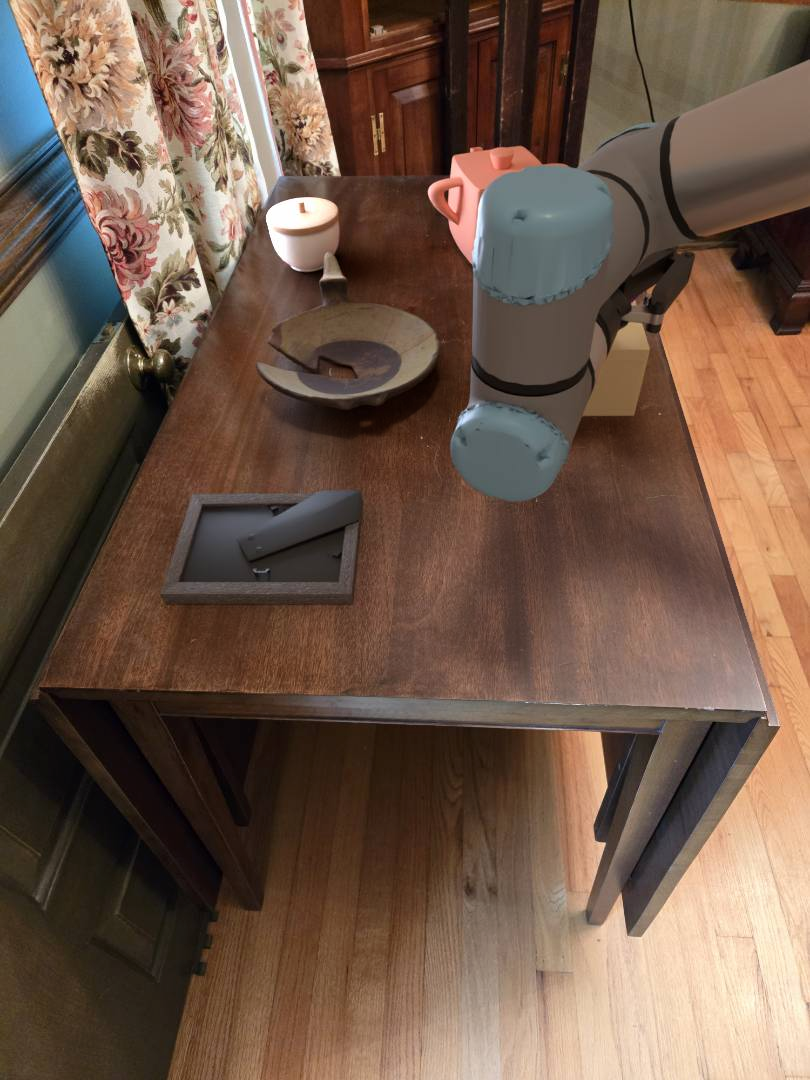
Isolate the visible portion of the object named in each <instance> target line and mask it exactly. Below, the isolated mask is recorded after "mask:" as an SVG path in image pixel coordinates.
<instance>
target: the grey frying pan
mask: <svg viewBox="0 0 810 1080" xmlns="http://www.w3.org/2000/svg"><path fill="white" fill-rule="evenodd" d="M348 286H349V282H348V278H347V277H345V275H344V274H343V272H342V269H341V268H340V265H339V262H338V260H337V258H336V256H335V254H334V255H333V254H332V253H330V252H328V253H326V254H325V257H324V268H323V275H322V277H321V278H320V280H319V288H320V293H321V299H322V305H319V306H317V307H315V308H313V309H310V310H307V311H303V312H301V313H297V314H294V315H292V316H290V317H289V318H286V319H284V320H282V321H280V322H278V323H277V324H276V325H274V327H272V329H271V334H270V336H269V337H268V338H267V340H266V342H267V344H268V345H269V346H271V347H272V348H273V349H274V350H275V351H276V352H278V353H280V354H281V355H283V356H284V358H286V359H288V360H290V361H291V362H292V363H293V364H296V365H297V366H300V368H302V370H307V371H308V372H309V373H307V372H302V371H300V372H299V371H293V370H286V369H285V370H284V369H282V368H279V367H275V366H271V365H268V364H266V363H264V362H259V361H258V362H255V369H256V371H257V373H258V375H259V376H260V378H261V380H263V381H264V382H265V383H266V384H267V385H269V386H270V387H271V388H273V390H275V391H277V392H278V393H281V394H282V395H285V396H287V397H290V398H292V399H295V400H298V401H300V402H303V403H307V404H310V405H317V406H326V407H331V408H336V409H338V410H341V411H350V410H352V409H354V408H357V407H360V406H374V407H375V406H380V405H382V404H384V403H385V402H386V401H387V399H390V398H392V397H395V396H397V395H401V394H402V393H404V392H406V391H408V390H410V389H412V388H414V386H417V385H418V384H419V383H421V382H422V381H423V380H425V378H427V377H428V375H430V373H431V372H432V371H433V370H434V368H435V367H436V365H437V363H438V361H439V359H440V355H441V342H440V340H439V335H438V334H437V331H436V330H435V329H434V328H433V327H432V325H430V323H428V322H427V321H425V319H423V318H421V317H419V316H418V315H415V314H413V313H412V312H411V313H410V312H409V311H405V310H403V309H399V308H396V307H392V306H389V305H383V304H377V303H367V302H352V301H351V300H350V299H349V296H348ZM320 360H323V361H326V362H327V363H330V364H335V365H337V366H342V367H348V368H351V369H352V370H353V373H355V375H356V378H345V377H334V376H332V374H331V371H332V368H330V369H328V371H329V373H328V374H329V376H328V375H322V374H321V375H319V374H318V372H319V370H320V369H319V368H320V366H321V363H320Z"/></svg>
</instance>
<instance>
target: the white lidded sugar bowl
mask: <svg viewBox="0 0 810 1080" xmlns="http://www.w3.org/2000/svg"><path fill="white" fill-rule="evenodd" d="M339 211H340V210H339V207H338V206H337V205H336V204H335V202H333V201H331V200H328V199H324V198H321V197H313V196H312V197H311V196H310V197H309V196H308V197H306V196H305V197H296V198H291V199H288V200H287V199H286V200H284V201H281V202H279V203H276V204H275V205H273V206H272V207H271V208H270V209H269V210H267V213H266V216H265V217H266V218H265V219H266V223H267V227H268V230H269V231H268V232H269V235H270V239H271V243H272V246H273V247H274V250H275V251H276V253H277V255H278V256H279V257H280V258H281V260H282V261H283V262H285V263H286V264H287V265H288V266H290V267H291V268H292V269H293V270H294V271H297V272H304V273H310V272H316V271H319V270H322V269H324V257H325V254H326V253H328V252H330V253H332V254H333V255H334V256H335V253H336V252H337V250H338V247H339V243H340V219H339V218H340V212H339Z"/></svg>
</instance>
